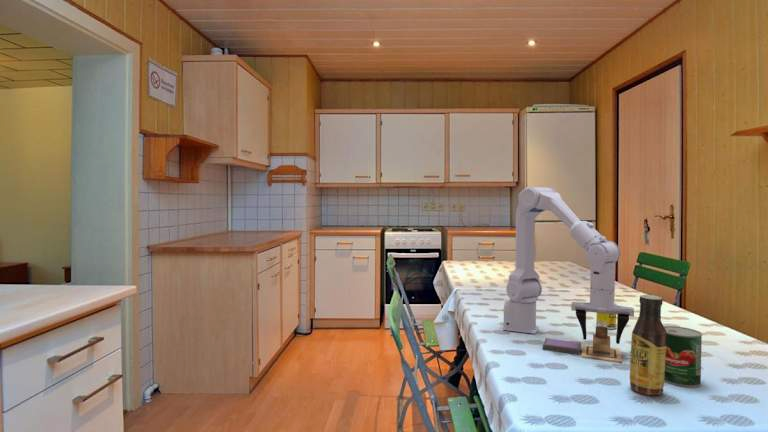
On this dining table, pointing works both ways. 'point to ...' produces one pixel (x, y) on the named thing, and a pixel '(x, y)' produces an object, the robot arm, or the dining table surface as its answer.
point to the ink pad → (562, 346)
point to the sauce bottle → (648, 348)
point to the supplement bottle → (606, 320)
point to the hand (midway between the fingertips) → (601, 340)
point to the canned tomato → (683, 356)
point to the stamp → (601, 341)
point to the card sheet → (614, 354)
